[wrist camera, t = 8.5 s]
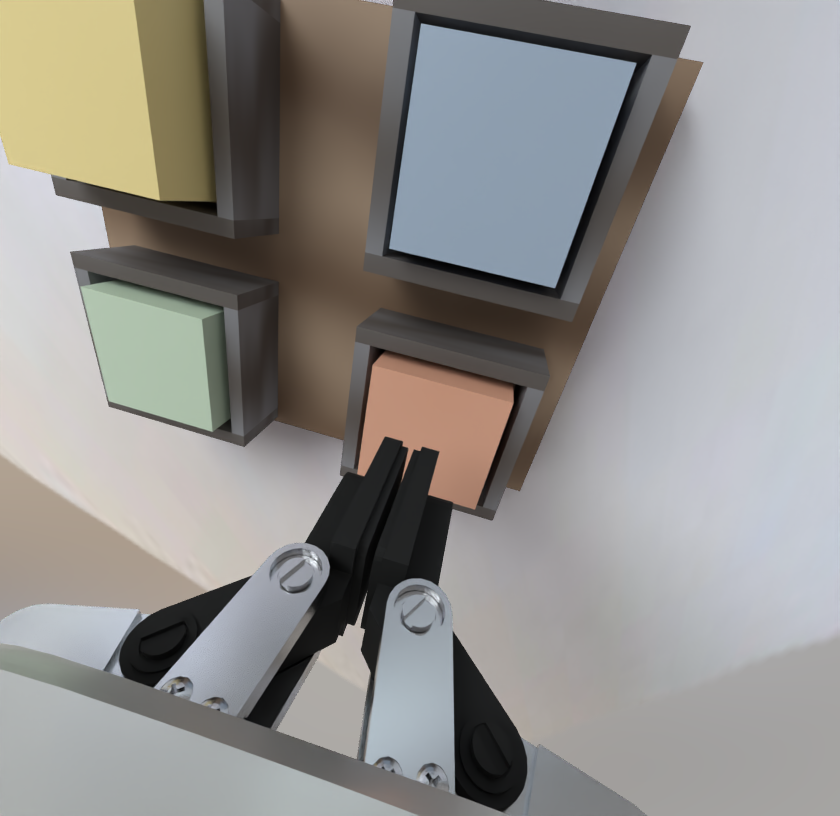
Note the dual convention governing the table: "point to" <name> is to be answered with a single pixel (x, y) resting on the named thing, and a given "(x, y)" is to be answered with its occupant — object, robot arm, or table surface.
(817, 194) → the table surface
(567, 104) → the slate button
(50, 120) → the mustard button
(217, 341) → the sage button
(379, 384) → the terracotta button
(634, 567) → the table surface
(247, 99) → the console
